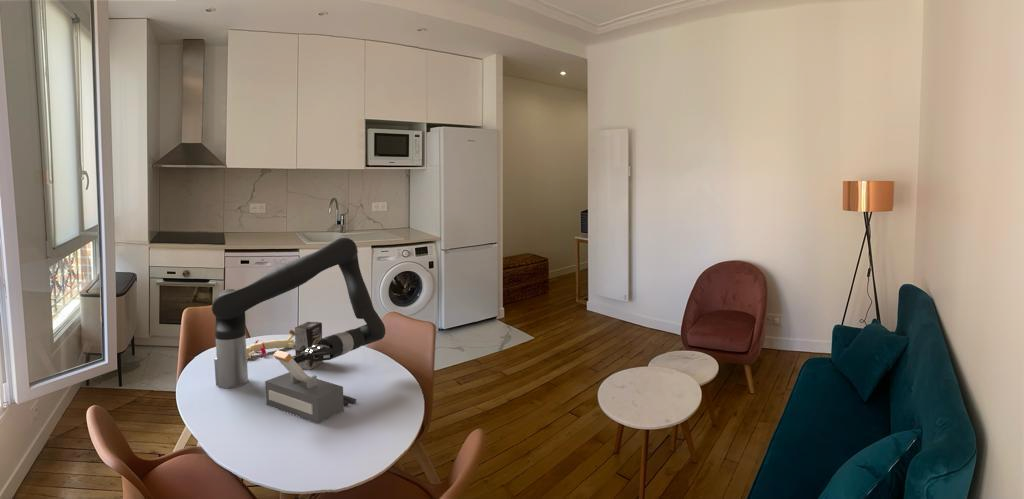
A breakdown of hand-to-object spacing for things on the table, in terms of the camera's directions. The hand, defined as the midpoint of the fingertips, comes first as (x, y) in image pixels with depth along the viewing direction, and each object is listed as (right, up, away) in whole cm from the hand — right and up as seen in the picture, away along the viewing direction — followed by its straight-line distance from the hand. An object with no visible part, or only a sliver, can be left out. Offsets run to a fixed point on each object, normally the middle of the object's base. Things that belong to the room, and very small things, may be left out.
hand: (292, 360), depth 160 cm
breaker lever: (+2, -7, +4) cm, 8 cm away
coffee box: (-11, -11, +42) cm, 45 cm away
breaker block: (+3, -16, +8) cm, 18 cm away
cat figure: (-34, -9, +54) cm, 65 cm away
